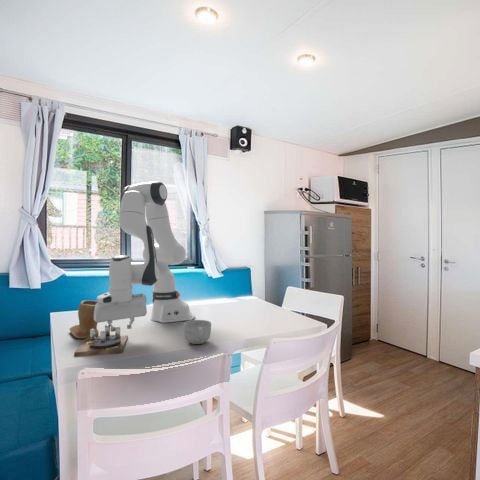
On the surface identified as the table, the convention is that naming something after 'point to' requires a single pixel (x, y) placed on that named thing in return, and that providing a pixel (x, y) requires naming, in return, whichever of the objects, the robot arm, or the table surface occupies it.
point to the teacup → (197, 331)
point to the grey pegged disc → (104, 338)
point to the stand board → (89, 350)
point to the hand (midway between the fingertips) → (121, 329)
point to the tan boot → (85, 320)
